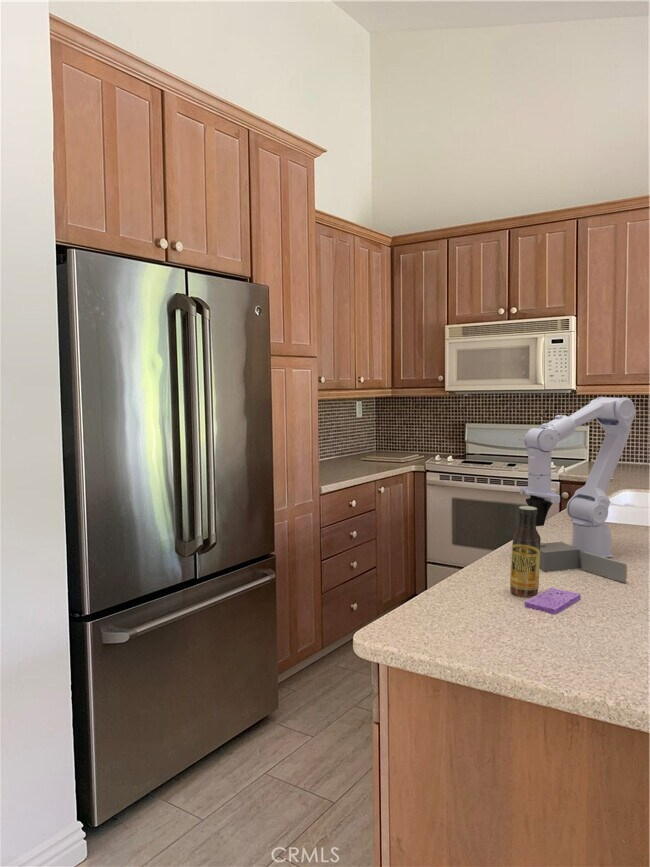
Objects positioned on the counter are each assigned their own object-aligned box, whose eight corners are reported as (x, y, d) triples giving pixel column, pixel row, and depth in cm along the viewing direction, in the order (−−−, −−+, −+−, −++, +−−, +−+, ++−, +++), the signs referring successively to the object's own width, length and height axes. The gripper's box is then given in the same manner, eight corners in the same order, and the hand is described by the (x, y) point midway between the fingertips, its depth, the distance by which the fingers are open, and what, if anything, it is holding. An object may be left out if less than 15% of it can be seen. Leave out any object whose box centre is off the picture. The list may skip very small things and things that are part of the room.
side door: (578, 568, 167) (578, 551, 166) (582, 567, 167) (582, 550, 167) (623, 582, 155) (624, 564, 154) (627, 581, 155) (628, 563, 155)
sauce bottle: (507, 595, 148) (507, 508, 146) (513, 587, 153) (513, 503, 152) (537, 599, 145) (538, 511, 143) (542, 591, 150) (543, 505, 149)
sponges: (581, 601, 145) (581, 593, 145) (555, 617, 136) (555, 608, 136) (550, 594, 150) (550, 586, 149) (523, 609, 141) (523, 600, 141)
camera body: (561, 560, 175) (561, 539, 174) (579, 568, 167) (579, 547, 167) (525, 563, 172) (525, 542, 172) (542, 572, 165) (542, 550, 164)
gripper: (510, 471, 177) (510, 520, 178) (543, 479, 163) (542, 532, 164) (533, 469, 179) (532, 518, 180) (567, 477, 165) (566, 530, 166)
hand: (539, 525), depth 172 cm, fingers closed
